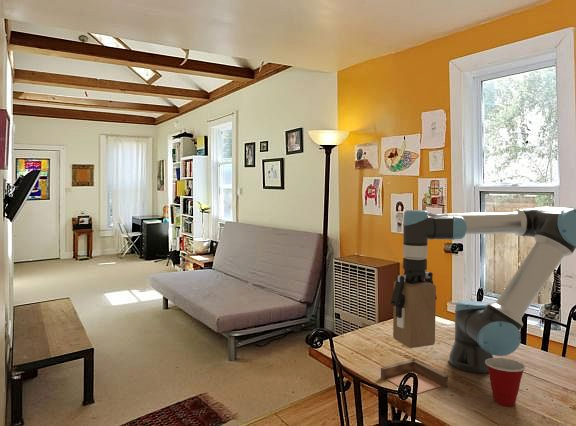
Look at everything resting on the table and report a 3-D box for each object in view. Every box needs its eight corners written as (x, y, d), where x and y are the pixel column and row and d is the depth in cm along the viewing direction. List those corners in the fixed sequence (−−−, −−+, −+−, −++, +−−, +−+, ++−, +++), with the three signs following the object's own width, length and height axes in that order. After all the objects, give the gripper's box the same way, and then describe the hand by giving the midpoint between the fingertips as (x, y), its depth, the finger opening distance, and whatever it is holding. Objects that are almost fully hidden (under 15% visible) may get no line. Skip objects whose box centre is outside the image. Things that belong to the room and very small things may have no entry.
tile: (413, 372, 144) (413, 371, 144) (440, 386, 133) (440, 385, 133) (387, 379, 138) (387, 378, 138) (413, 395, 127) (413, 394, 127)
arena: (413, 368, 146) (413, 359, 146) (447, 386, 133) (447, 375, 133) (380, 377, 139) (380, 367, 139) (413, 397, 126) (413, 386, 126)
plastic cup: (511, 392, 129) (512, 354, 129) (532, 410, 119) (533, 370, 118) (477, 392, 129) (478, 355, 128) (495, 411, 118) (496, 370, 117)
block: (436, 345, 132) (437, 284, 131) (409, 349, 129) (410, 286, 127) (417, 335, 141) (418, 277, 140) (391, 338, 138) (392, 279, 137)
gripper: (431, 253, 142) (430, 316, 143) (379, 258, 131) (378, 326, 133) (449, 256, 135) (447, 322, 137) (395, 262, 125) (394, 333, 126)
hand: (413, 324), depth 135 cm, fingers closed on block, 11 cm apart
